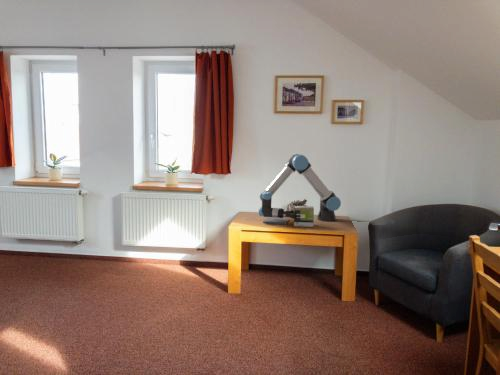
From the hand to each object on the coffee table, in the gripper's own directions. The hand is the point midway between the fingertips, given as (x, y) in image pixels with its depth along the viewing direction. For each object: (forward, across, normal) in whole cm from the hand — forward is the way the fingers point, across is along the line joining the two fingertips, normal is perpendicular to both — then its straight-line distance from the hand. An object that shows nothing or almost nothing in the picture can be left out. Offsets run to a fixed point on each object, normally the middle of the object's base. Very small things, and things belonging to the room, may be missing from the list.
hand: (306, 214), depth 308 cm
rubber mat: (-25, -8, -8) cm, 28 cm away
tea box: (-2, 0, -9) cm, 9 cm away
